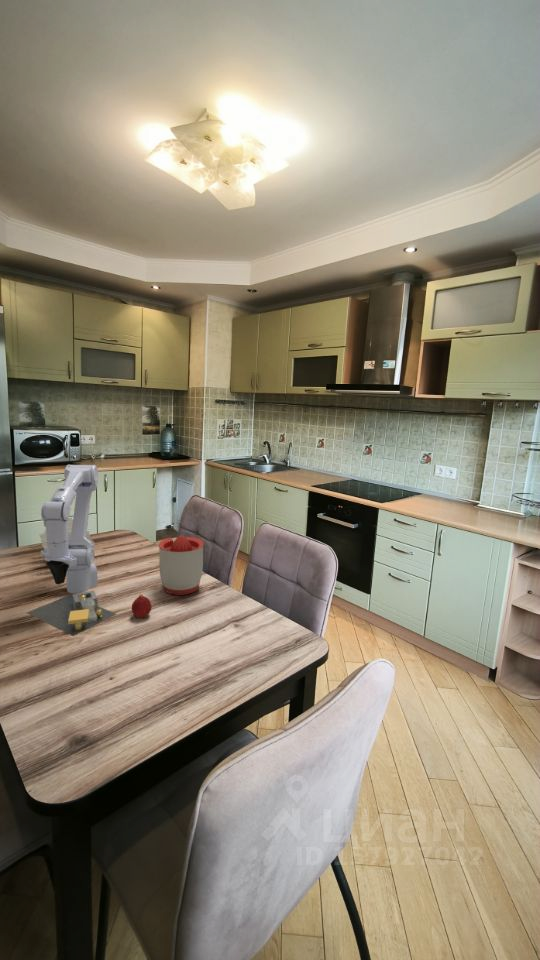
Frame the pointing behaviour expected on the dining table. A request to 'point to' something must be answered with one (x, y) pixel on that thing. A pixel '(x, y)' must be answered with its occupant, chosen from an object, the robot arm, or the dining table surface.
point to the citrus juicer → (181, 564)
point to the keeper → (78, 618)
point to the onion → (141, 606)
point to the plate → (65, 615)
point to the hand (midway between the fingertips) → (59, 582)
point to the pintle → (82, 596)
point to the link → (87, 604)
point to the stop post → (99, 613)
